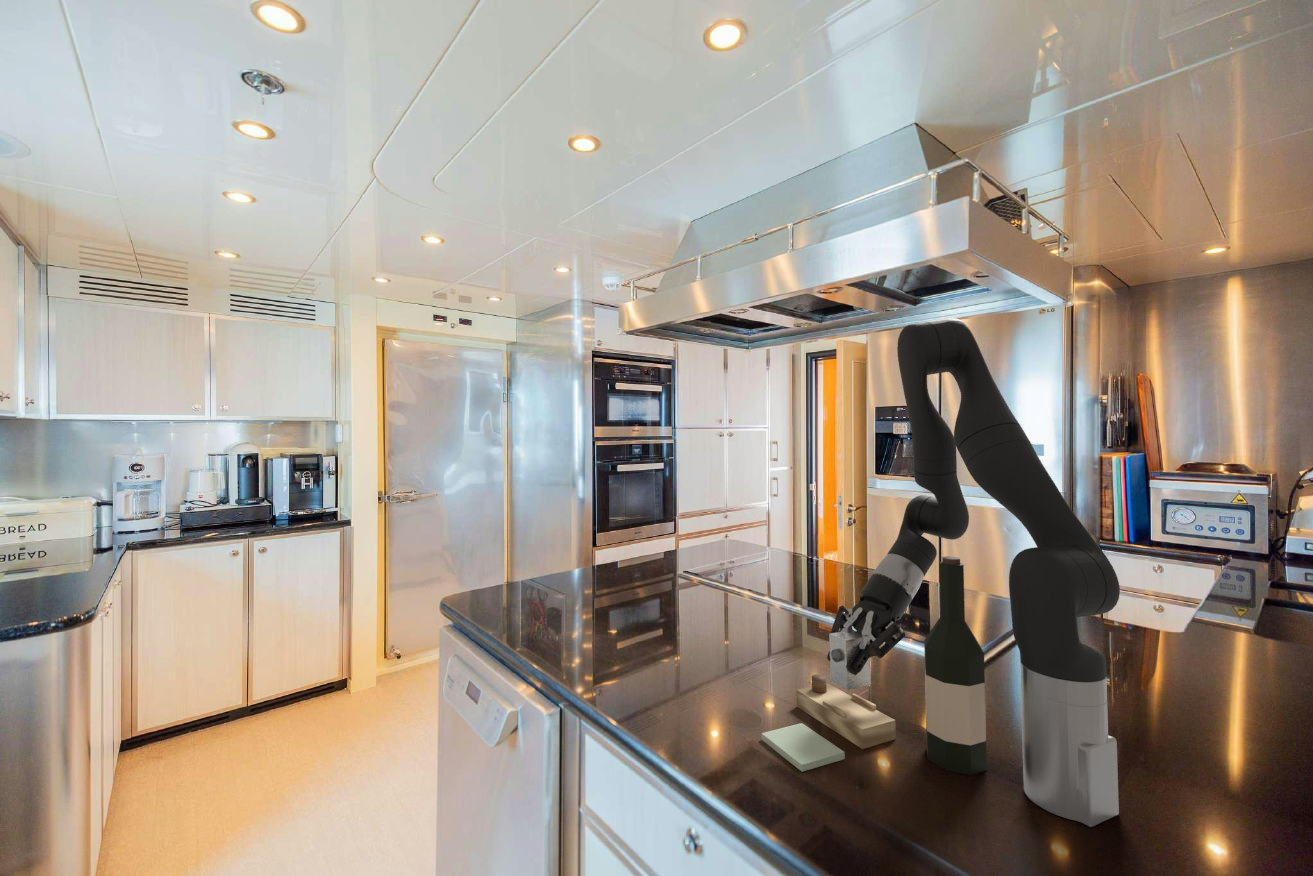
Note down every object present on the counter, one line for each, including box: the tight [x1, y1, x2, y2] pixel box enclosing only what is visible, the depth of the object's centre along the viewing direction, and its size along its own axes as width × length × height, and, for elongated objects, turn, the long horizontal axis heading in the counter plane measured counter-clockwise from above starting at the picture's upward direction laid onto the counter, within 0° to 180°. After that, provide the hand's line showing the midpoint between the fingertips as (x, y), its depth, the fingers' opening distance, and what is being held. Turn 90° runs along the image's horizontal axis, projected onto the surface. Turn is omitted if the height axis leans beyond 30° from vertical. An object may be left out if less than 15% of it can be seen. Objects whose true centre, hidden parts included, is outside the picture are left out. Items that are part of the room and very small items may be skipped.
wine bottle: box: [923, 555, 988, 776], centre depth 84 cm, size 8×8×30 cm
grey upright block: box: [828, 630, 872, 691], centre depth 94 cm, size 4×6×8 cm
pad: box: [761, 722, 846, 772], centre depth 87 cm, size 10×8×1 cm
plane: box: [796, 673, 897, 750], centre depth 95 cm, size 16×7×5 cm, turn 24°
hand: (841, 666), depth 93 cm, fingers closed on grey upright block, 4 cm apart
